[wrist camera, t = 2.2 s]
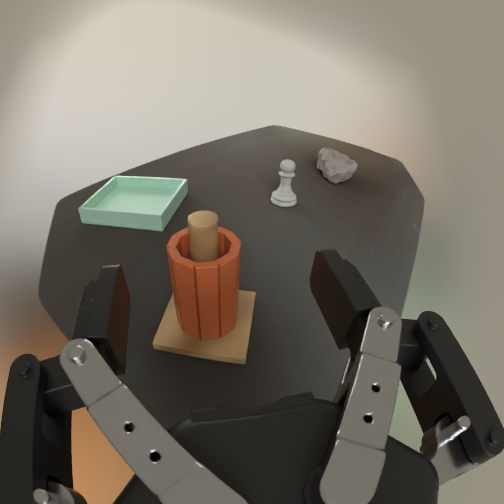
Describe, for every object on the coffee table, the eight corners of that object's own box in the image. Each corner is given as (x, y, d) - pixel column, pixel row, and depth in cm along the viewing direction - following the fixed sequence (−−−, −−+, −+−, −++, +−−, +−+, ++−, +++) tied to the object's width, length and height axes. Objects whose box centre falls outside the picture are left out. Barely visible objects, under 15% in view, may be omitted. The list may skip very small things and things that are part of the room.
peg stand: (153, 349, 27) (126, 244, 20) (178, 287, 35) (168, 189, 27) (245, 364, 27) (254, 260, 20) (255, 298, 34) (265, 198, 27)
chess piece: (282, 210, 51) (287, 166, 46) (264, 198, 54) (268, 157, 49) (301, 204, 53) (308, 162, 49) (284, 193, 56) (289, 153, 51)
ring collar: (170, 334, 28) (157, 262, 23) (186, 291, 33) (180, 221, 27) (231, 344, 28) (233, 273, 22) (240, 299, 33) (244, 228, 27)
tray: (81, 223, 44) (78, 208, 43) (116, 188, 55) (114, 175, 53) (162, 231, 44) (161, 215, 42) (188, 192, 54) (187, 179, 53)
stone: (303, 170, 67) (307, 146, 64) (328, 166, 71) (332, 144, 67) (333, 187, 61) (338, 161, 57) (357, 182, 64) (363, 159, 61)
